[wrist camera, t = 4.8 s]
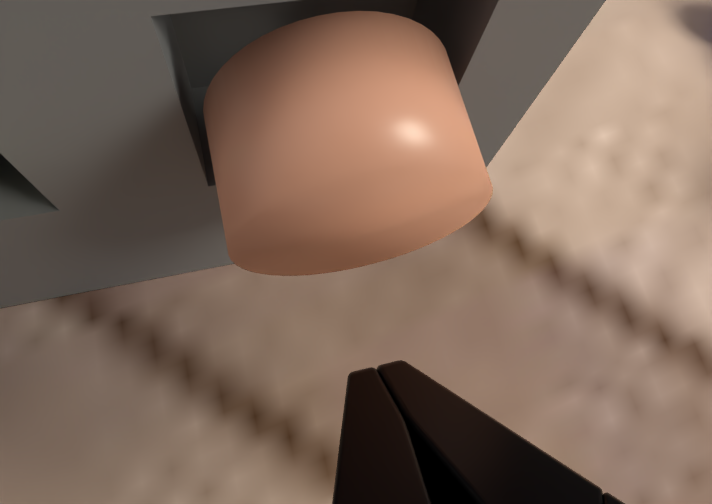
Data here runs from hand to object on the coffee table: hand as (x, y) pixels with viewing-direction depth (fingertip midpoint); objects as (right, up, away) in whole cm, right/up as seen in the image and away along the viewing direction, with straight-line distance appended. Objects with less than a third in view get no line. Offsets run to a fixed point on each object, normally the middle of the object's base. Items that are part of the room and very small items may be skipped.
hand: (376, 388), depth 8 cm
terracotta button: (-1, +3, +3) cm, 4 cm away
